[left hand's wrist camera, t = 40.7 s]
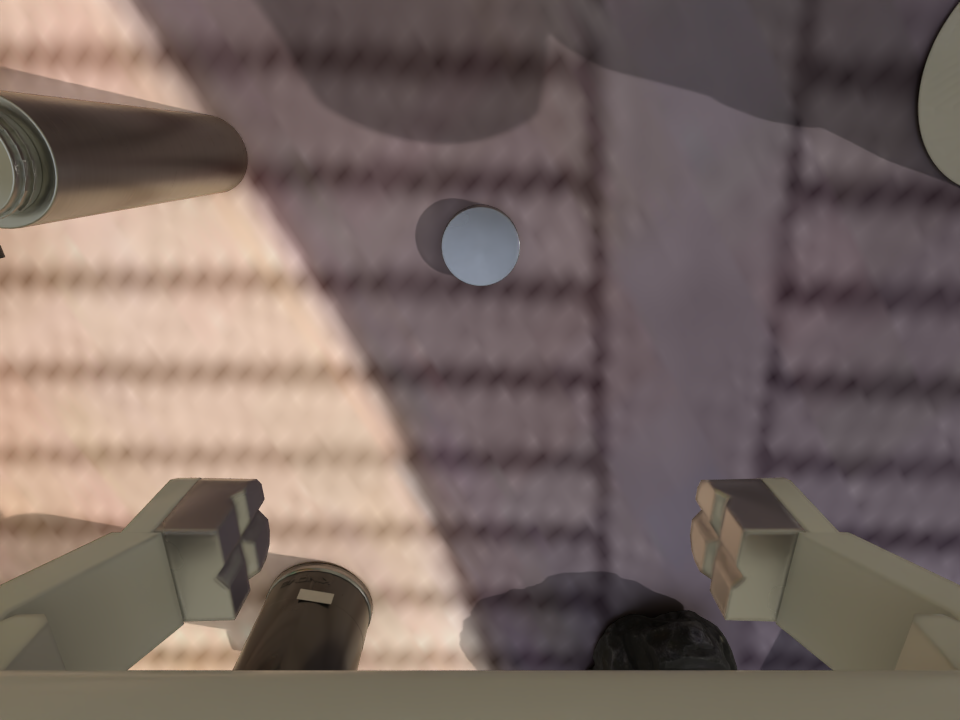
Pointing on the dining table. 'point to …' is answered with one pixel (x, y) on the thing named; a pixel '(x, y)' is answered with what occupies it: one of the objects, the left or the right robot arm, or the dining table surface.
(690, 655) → the rock
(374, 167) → the dining table surface
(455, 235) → the lid
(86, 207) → the dark piece
